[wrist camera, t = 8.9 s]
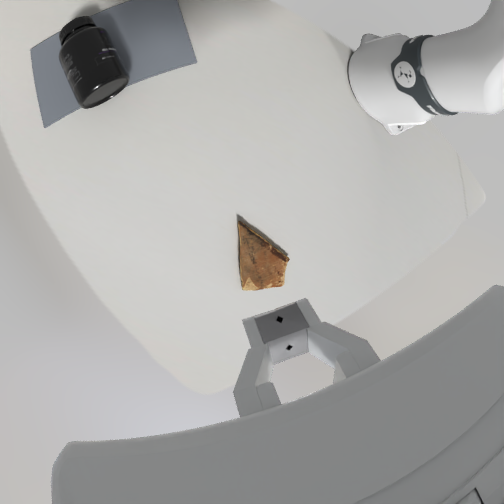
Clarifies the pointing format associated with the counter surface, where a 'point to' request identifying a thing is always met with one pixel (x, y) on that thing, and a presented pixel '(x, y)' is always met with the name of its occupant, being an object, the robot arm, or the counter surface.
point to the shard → (259, 261)
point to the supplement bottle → (91, 62)
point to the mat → (127, 45)
